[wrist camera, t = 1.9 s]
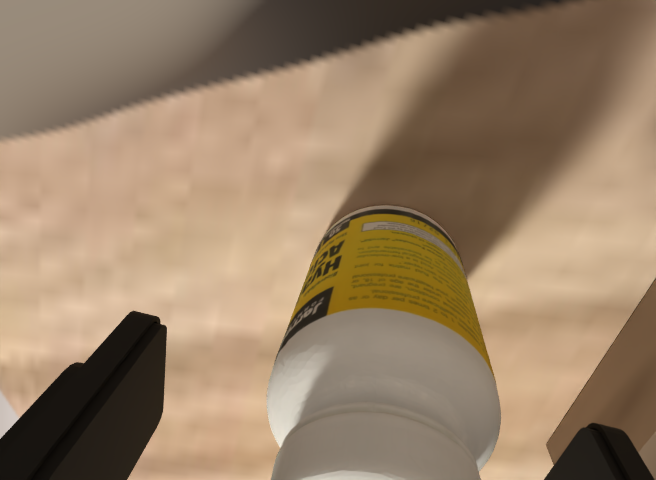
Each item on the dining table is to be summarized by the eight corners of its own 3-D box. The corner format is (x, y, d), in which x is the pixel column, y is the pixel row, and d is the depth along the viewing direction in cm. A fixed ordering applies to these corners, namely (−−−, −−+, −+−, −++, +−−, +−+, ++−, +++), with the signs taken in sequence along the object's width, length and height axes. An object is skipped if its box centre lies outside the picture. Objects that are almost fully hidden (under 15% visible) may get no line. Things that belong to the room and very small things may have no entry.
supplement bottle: (333, 182, 15) (250, 393, 6) (484, 225, 15) (616, 501, 6) (299, 305, 17) (205, 583, 9) (428, 343, 17) (467, 661, 8)
